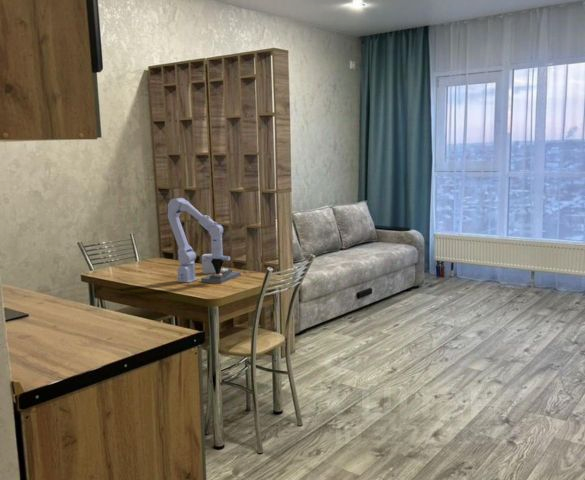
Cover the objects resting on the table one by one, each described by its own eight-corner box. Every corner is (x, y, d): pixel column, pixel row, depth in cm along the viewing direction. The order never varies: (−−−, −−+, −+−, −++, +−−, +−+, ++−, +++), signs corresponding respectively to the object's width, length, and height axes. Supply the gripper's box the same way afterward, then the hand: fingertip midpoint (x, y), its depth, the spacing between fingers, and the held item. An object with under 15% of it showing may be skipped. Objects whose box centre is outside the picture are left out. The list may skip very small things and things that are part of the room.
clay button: (219, 278, 297) (219, 274, 297) (212, 278, 299) (212, 274, 299) (223, 276, 301) (223, 273, 301) (216, 276, 303) (216, 272, 303)
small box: (218, 271, 327) (217, 253, 326) (216, 273, 322) (215, 255, 320) (204, 271, 328) (204, 253, 327) (202, 273, 322) (201, 255, 321)
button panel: (221, 283, 295) (220, 277, 295) (201, 281, 300) (200, 275, 299) (240, 275, 314) (240, 269, 314) (221, 274, 319) (221, 268, 318)
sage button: (225, 273, 311) (225, 269, 310) (218, 272, 312) (218, 269, 312) (229, 271, 315) (229, 268, 314) (222, 271, 316) (222, 268, 316)
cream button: (222, 273, 304) (222, 269, 303) (215, 272, 305) (215, 269, 305) (226, 271, 308) (226, 268, 307) (219, 271, 309) (219, 267, 309)
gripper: (232, 247, 299) (233, 272, 300) (209, 246, 304) (210, 271, 306) (226, 249, 292) (227, 275, 294) (201, 248, 298) (203, 273, 300)
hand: (217, 273), depth 300 cm, fingers closed
